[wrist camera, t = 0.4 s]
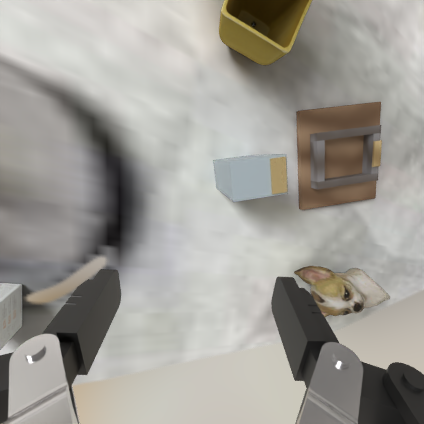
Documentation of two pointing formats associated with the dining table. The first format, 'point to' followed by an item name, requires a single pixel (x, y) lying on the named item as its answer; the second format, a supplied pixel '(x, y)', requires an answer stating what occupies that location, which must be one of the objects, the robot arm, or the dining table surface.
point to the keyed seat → (338, 154)
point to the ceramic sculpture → (342, 290)
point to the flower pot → (262, 27)
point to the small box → (10, 311)
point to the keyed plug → (251, 176)
